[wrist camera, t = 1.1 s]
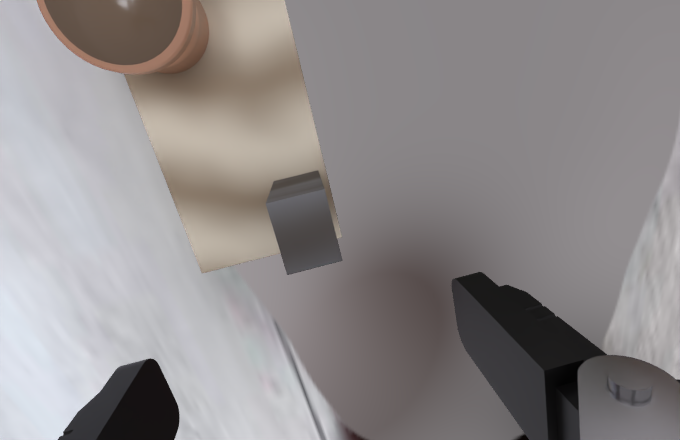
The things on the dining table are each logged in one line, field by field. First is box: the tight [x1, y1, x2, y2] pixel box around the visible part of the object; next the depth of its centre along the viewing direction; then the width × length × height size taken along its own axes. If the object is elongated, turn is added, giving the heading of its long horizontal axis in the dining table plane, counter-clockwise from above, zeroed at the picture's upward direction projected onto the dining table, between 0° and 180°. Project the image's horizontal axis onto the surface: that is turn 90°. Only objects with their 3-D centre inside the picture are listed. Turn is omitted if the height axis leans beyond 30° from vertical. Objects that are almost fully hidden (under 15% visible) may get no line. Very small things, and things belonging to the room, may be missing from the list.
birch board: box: [124, 0, 342, 275], centre depth 18 cm, size 24×10×7 cm, turn 13°
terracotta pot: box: [37, 0, 209, 75], centre depth 17 cm, size 6×6×6 cm
